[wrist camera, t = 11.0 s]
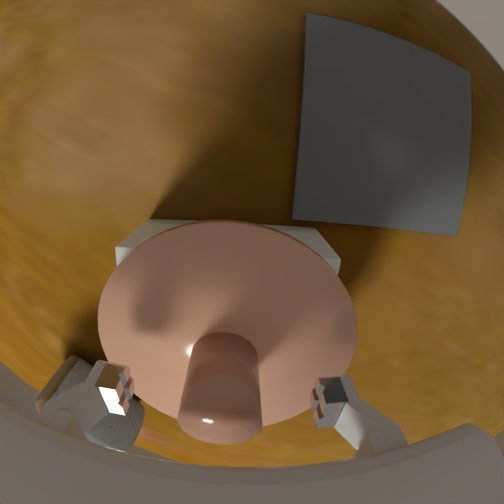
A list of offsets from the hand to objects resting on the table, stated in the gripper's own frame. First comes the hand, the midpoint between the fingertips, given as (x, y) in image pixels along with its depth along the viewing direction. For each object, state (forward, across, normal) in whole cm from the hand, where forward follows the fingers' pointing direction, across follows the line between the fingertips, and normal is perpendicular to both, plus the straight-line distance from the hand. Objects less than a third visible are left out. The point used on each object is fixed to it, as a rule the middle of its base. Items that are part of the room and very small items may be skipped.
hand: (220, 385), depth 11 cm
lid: (+3, 0, 0) cm, 3 cm away
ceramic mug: (+8, +13, +12) cm, 19 cm away
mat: (+8, -10, -12) cm, 17 cm away
